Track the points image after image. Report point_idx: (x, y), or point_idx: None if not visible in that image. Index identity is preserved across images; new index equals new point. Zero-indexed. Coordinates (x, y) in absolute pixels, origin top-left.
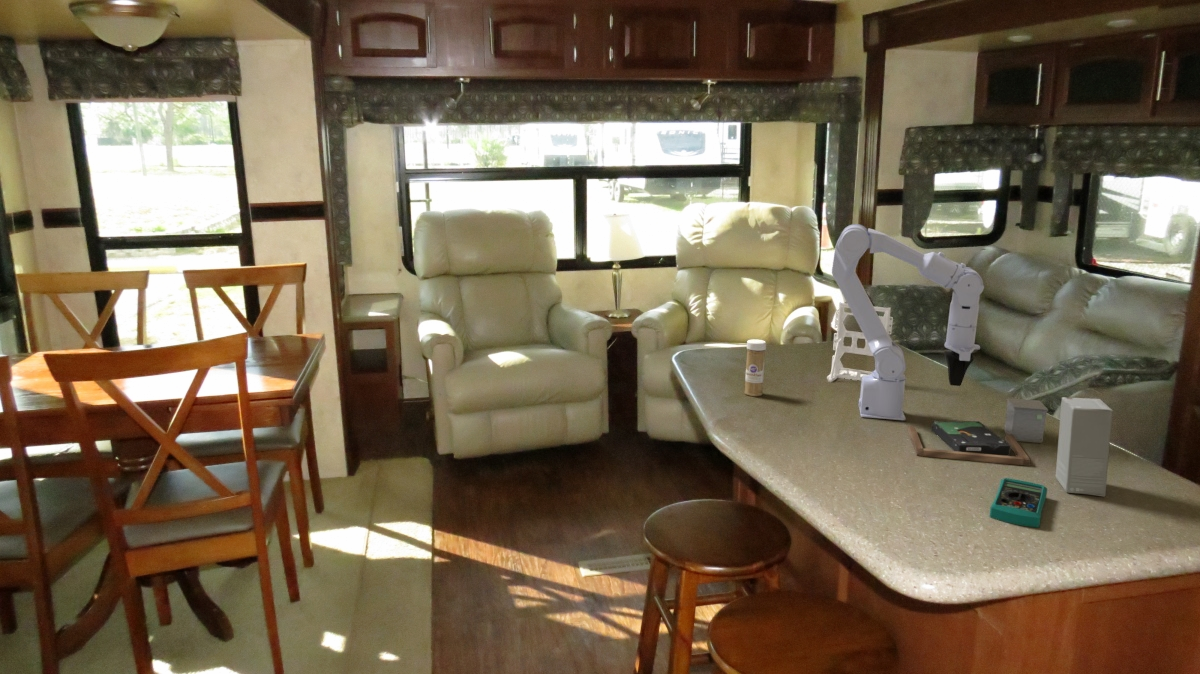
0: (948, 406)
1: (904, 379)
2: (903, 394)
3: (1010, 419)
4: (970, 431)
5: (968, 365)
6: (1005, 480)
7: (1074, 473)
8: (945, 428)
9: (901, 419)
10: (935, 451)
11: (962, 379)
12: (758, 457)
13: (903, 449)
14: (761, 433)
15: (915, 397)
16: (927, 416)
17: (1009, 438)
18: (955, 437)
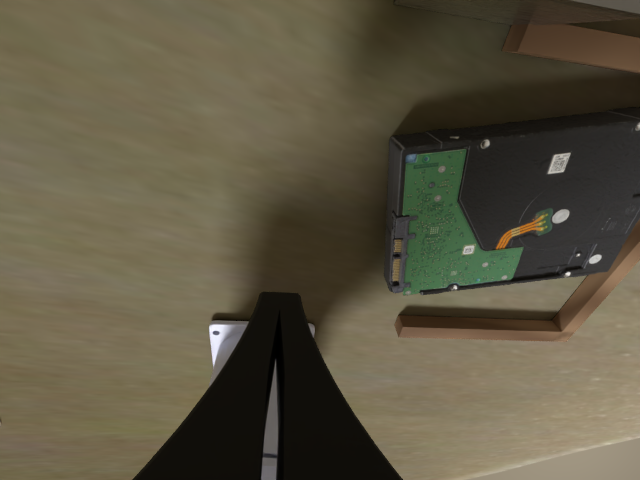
0: (67, 166)
1: (268, 453)
2: (274, 391)
3: (533, 11)
4: (511, 215)
5: (373, 443)
6: None
7: None
8: (465, 278)
9: (314, 332)
10: (589, 314)
11: (307, 323)
12: (496, 467)
13: (512, 344)
14: (404, 471)
15: (5, 261)
16: (248, 264)
17: (576, 58)
18: (538, 265)
